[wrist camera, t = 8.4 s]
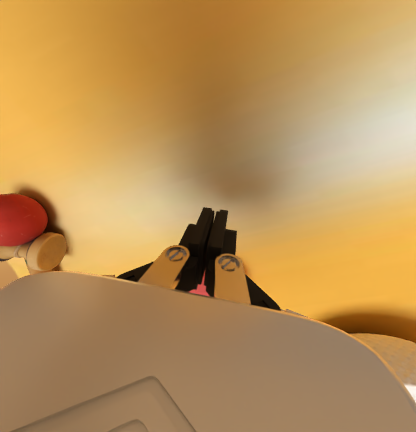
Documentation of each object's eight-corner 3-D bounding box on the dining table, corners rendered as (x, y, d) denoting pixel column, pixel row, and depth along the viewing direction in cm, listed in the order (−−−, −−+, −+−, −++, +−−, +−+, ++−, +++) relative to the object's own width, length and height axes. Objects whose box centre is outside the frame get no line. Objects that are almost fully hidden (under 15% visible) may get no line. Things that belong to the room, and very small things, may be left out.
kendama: (93, 287, 31) (55, 197, 20) (55, 322, 26) (-22, 229, 15) (61, 268, 33) (10, 178, 22) (19, 298, 28) (-72, 200, 17)
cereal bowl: (304, 295, 21) (328, 366, 15) (479, 323, 18) (599, 425, 12) (277, 368, 29) (285, 435, 22) (397, 396, 26) (444, 481, 20)
